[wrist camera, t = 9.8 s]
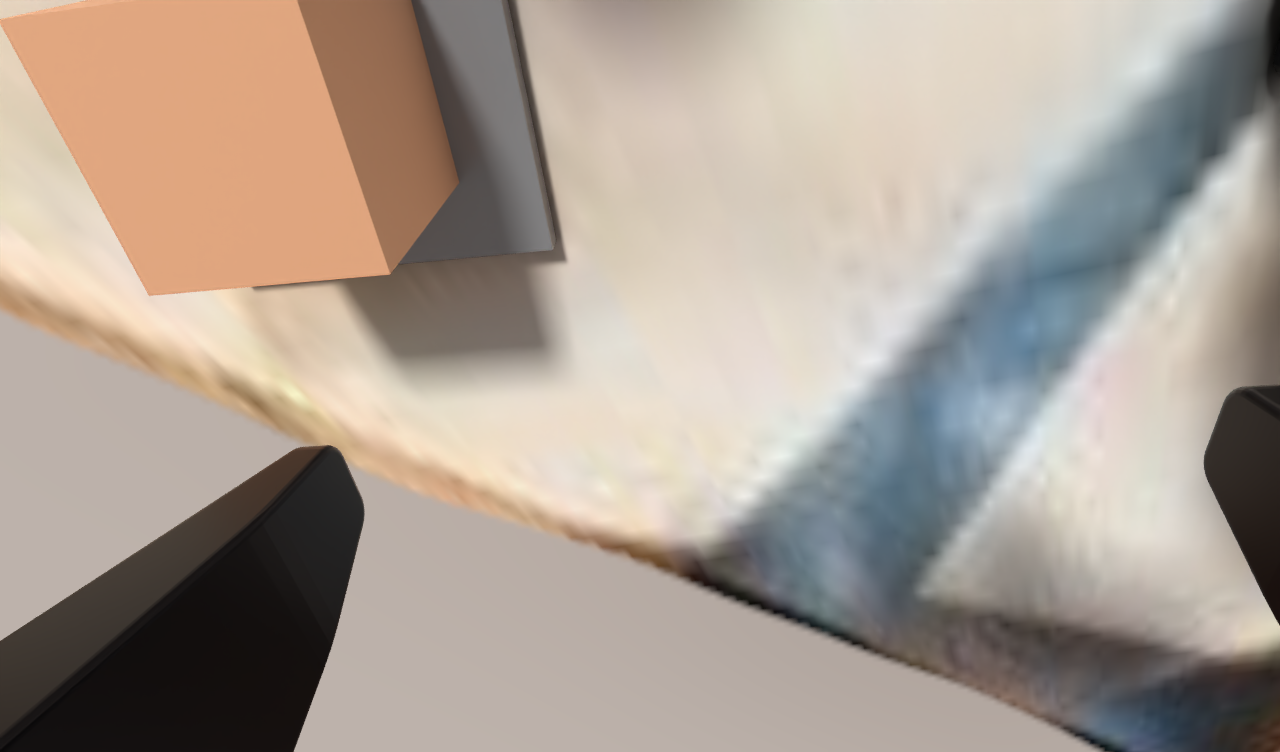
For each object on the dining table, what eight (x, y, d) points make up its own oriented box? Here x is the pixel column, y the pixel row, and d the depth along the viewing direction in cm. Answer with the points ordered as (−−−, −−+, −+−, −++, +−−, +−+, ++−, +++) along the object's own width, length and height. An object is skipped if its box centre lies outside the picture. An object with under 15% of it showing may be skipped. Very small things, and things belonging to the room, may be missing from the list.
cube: (459, 182, 18) (390, 274, 14) (268, 202, 19) (149, 295, 15) (397, -51, 16) (289, -22, 11) (177, -19, 16) (-3, 19, 12)
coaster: (470, -184, 15) (462, -187, 14) (556, 240, 20) (552, 250, 19) (58, -116, 16) (38, -115, 15) (238, 270, 21) (227, 280, 20)
